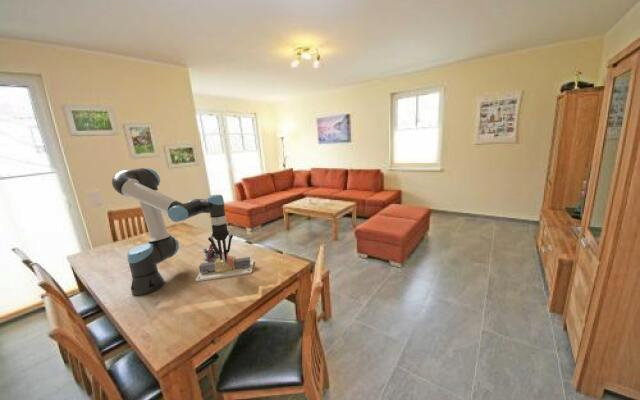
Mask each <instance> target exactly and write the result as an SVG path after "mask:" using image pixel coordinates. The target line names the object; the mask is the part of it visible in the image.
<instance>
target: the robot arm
mask: <svg viewBox="0 0 640 400" xmlns="http://www.w3.org/2000/svg"><path fill="white" fill-rule="evenodd" d="M160 183H161V178H160V175H159V174H158V173H157V172H156V170H154V169H153V168H149V167H147V168H145V167H142V168H133V169H125V170H124V169H123V170H120V171H118V172H116V173H115V174H114V175H113V176H112V180H111V184H112V185H111V186H112V187H113V189H114V190H115V191H116V192H117V193H118V194H120V195H122V196H124V197H126V198H129V197H130V198H134V199H136V200H138V201H139V203H140V205H139V206H140V208H141V212H142V214H143V217H144V218H143V219H144V220H145V224H146V226H147V230H148V233H149V239H148V240H147V241H148V243H143V244H140V245H137V246H134V247H132V248H131V249H130V250H129V251H128V252H127V254H126V255H127V262H128V265H129V270H130V274H131V277H132V278H131V280H132V281H131V284H130V285H131V286H130V292H131V294H132V295H134V296H143V295H146V294H150V293H152V292H155V291H157V290H159V289H160V288H162V287H163V286H164V285H165V279H164V277H163V276H162V275H161V273H160V271H159V270H158V265H159V264H160V263H163V262H164V261H166V260H168V259H171V258H172V257H173V256H174V255H176V254H177V253H178V251H179V248H180V245H179V241H178V240H177V239H176V238H175V237H174V236H172V234H171V233H170V232H168V230H167V227H166V224H165V219H164V217H163V216H164V215H163V214H162V212H163V213H165V214H167V216H168V218H169V219H170V220H171V221H172V222H175V223H178V222H183V221H186V220H188V219H190V218H192V217H195V216H198V215H200V214H209V216H210V223H211V230H212V234H211V236H209V237H208V239H207V240H208V242H210V244H212V246H213V250H214V251H215V253H216V254H219V255H220V260H222V261H223V266H225V265H226V260H225V259H227V253H228V254H229V253H230V250H231V244H232V240H233V237H234V233H230V232H229V230H228V225H227V215H226V210H225V201H224V196H223V195H222V194H211V195H208V196H207V199H206V198H194V199H190V200H189V201H187V202H185V203H183V202H181V201H179V200H176V199H173V198H171V197H170V196H167V195H165V194H163V193H161V192H159V191H158V190H159V189H158V187H159V186H160ZM227 238H228V241H226V239H227ZM215 240H216V242H215ZM226 242H228V244H226ZM216 243H217V244H216ZM217 248H218V249H217ZM218 250H219V251H218ZM222 252H224V253H222Z"/></svg>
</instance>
